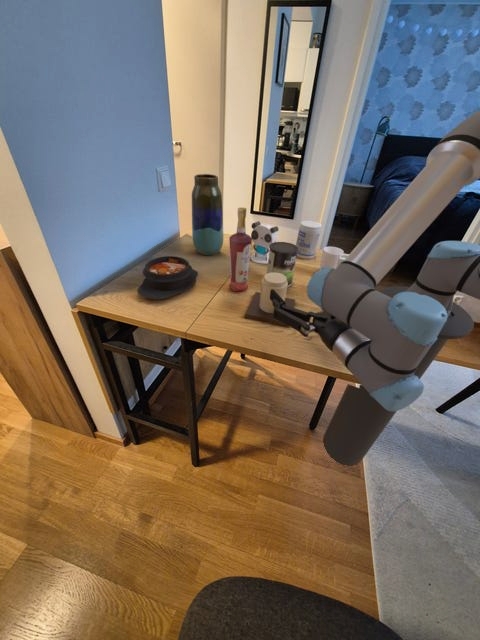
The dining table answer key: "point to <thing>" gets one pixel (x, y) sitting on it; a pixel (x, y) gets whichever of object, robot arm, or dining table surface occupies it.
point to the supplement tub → (308, 239)
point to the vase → (207, 214)
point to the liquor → (239, 254)
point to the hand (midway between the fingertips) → (294, 289)
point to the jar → (272, 282)
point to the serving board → (261, 315)
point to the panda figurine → (262, 241)
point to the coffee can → (282, 259)
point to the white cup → (330, 257)
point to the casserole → (167, 277)
